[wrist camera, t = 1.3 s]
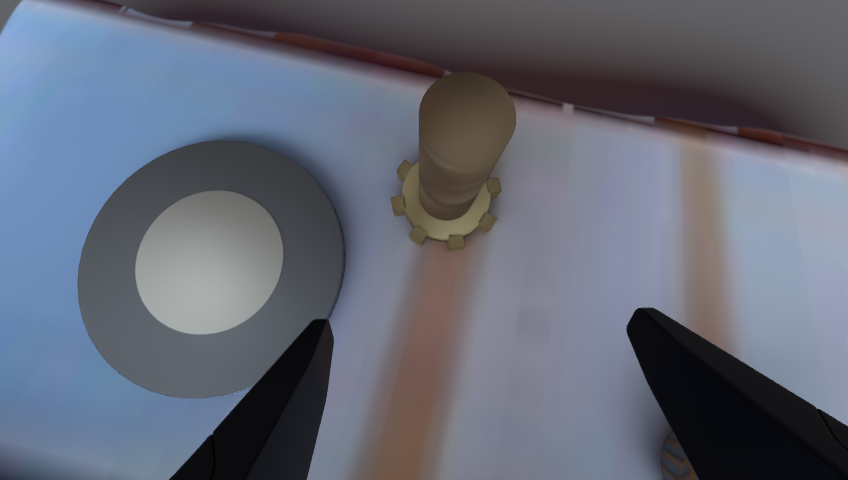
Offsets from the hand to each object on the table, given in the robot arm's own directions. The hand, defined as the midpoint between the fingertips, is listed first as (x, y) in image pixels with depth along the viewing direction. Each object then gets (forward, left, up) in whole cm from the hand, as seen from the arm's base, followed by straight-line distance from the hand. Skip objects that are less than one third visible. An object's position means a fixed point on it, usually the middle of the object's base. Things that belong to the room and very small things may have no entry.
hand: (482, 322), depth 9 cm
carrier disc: (+15, +6, -14) cm, 22 cm away
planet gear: (+4, -7, -14) cm, 16 cm away
